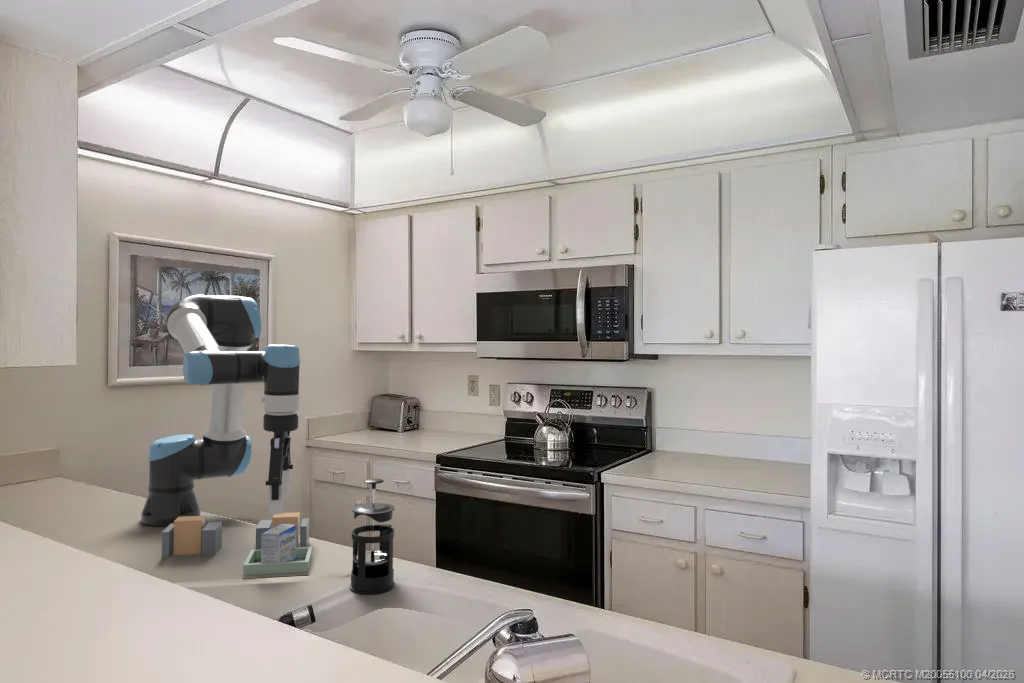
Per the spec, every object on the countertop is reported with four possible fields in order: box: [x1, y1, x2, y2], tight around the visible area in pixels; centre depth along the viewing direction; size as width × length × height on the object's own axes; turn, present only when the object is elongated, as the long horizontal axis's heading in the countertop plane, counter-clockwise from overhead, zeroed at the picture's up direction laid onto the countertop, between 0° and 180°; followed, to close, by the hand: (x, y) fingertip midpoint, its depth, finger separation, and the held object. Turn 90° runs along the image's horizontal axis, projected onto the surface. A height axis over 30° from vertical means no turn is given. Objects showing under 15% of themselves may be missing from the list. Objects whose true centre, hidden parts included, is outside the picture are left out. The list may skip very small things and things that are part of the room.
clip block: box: [161, 517, 310, 559], centre depth 165 cm, size 7×32×7 cm, turn 102°
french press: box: [349, 477, 396, 596], centre depth 146 cm, size 12×9×23 cm
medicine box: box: [260, 524, 297, 563], centre depth 155 cm, size 8×4×9 cm, turn 169°
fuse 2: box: [271, 511, 301, 547], centre depth 167 cm, size 4×6×8 cm, turn 102°
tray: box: [242, 546, 313, 580], centre depth 155 cm, size 11×14×3 cm
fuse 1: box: [174, 515, 206, 555], centre depth 162 cm, size 4×6×8 cm, turn 102°
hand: (279, 505), depth 155 cm, fingers open, 13 cm apart
